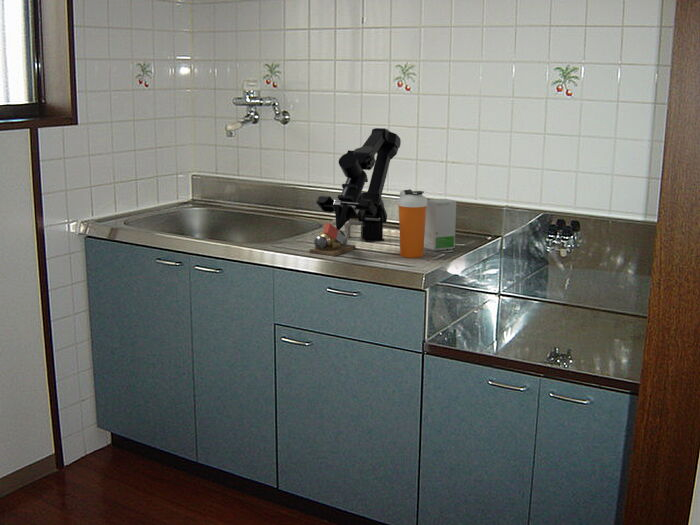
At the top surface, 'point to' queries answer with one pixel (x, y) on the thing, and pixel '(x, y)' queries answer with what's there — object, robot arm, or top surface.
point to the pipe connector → (347, 226)
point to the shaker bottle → (412, 223)
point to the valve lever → (334, 234)
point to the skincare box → (440, 224)
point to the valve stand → (329, 245)
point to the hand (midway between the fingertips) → (337, 229)
